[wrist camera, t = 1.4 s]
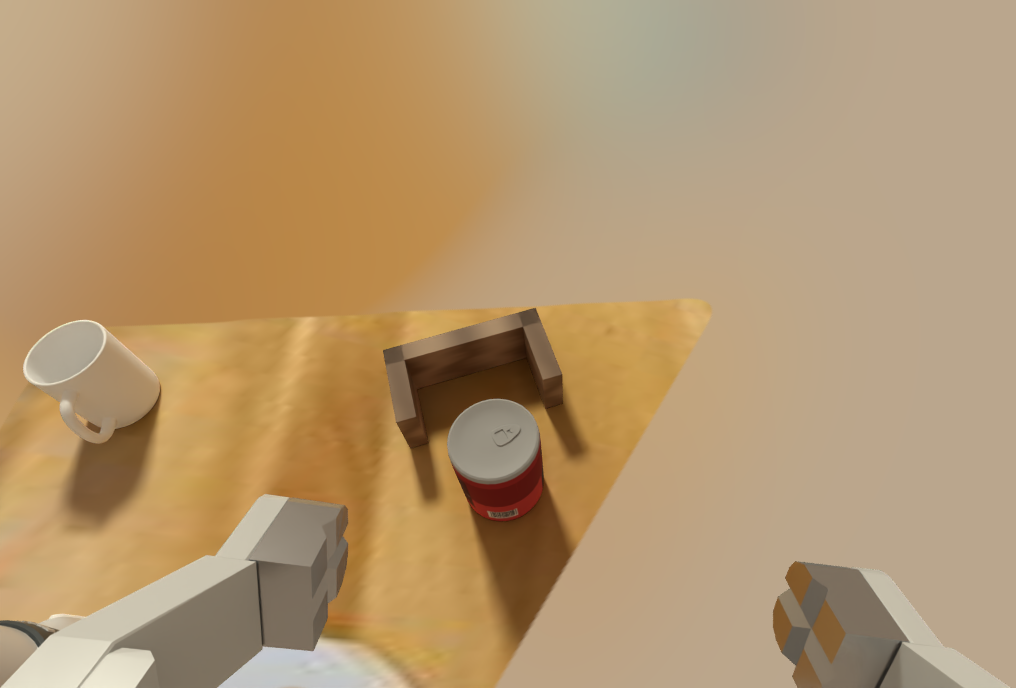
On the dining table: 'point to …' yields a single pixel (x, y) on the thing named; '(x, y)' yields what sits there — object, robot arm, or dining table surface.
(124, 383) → the cup
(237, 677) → the dining table surface
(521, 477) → the canned food
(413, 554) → the dining table surface
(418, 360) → the corral
